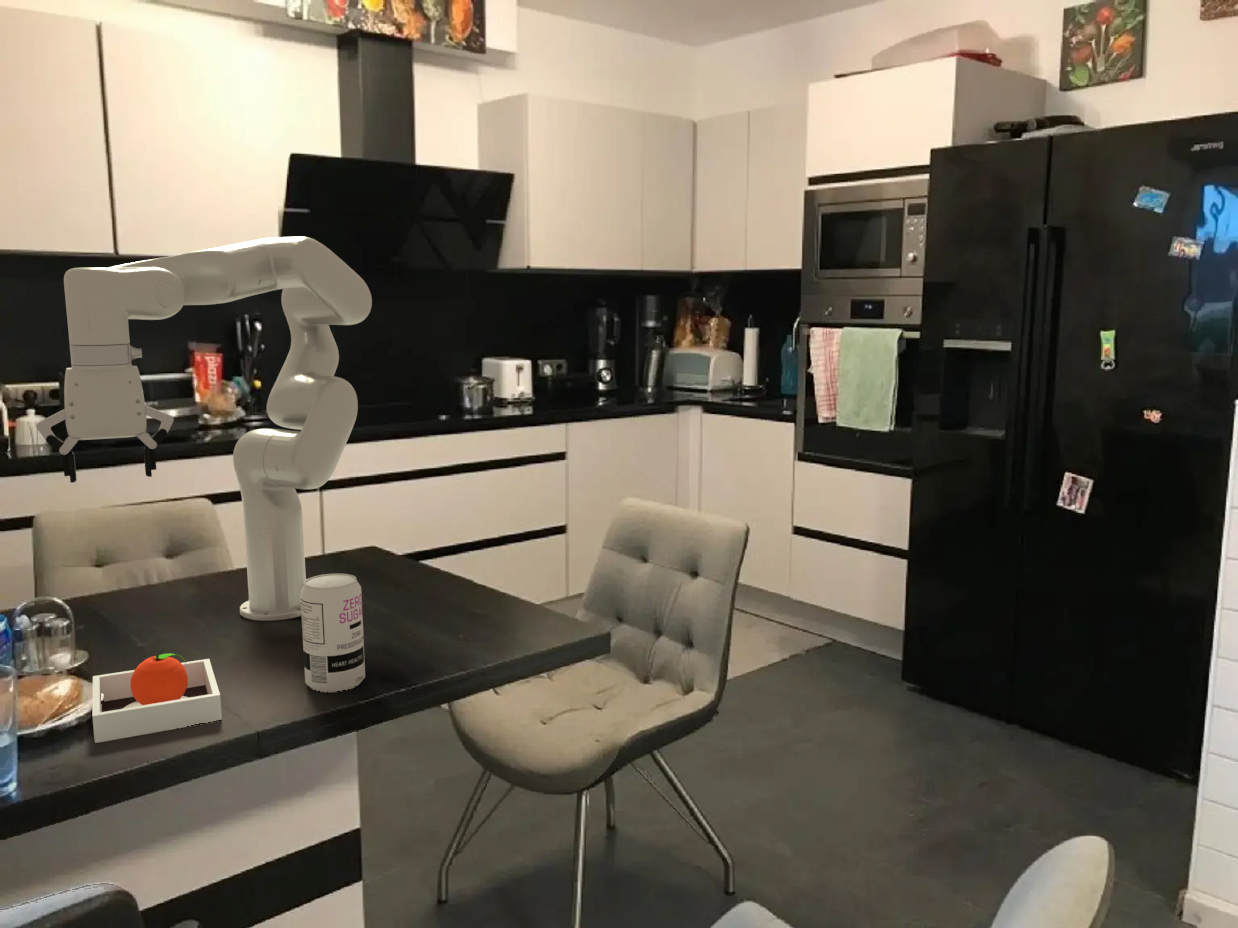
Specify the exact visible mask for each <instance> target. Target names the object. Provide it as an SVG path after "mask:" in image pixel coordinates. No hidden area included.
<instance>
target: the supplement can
mask: <svg viewBox="0 0 1238 928" xmlns="http://www.w3.org/2000/svg"><path fill="white" fill-rule="evenodd" d="M306 579H307V580H306V581H305V583H304V586H303V588H302V590H301V593H300V598H301V616H300V617H301V629H302V630H301V631H302V632H301V633H302V647H303V651H302V652H303V666H304V670H303V671H304V682H305V684H306V685H307V686H308V687H309V688H310V689H312V690H313V691H315V690H316V692H318V691H320V692H319V693H327V692H328V693H338V692H337V691H340V692H343V691H342V690H346V691H349V690H352V689H354V688H356V687H357V686H358V687H359V685H360V684H361V683H362V682H363V680H364V679H365V678H366V668H365V667H366V664H365V663H366V662H365V645H364V643H365V642H364V639H365V638H364V622H363V621H364V619H363V618H364V617H363V599H362V598H363V597H362V586H361V584H360V583H359V582H358V580H357V577H356V576H355V575H353V574H348V573H327V574H319V575H315V576H312V577H311V576H310V577H309V578H306ZM355 686H356V687H355ZM348 689H349V690H348Z"/></svg>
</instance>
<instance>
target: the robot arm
mask: <svg viewBox="0 0 1238 928" xmlns="http://www.w3.org/2000/svg"><path fill="white" fill-rule="evenodd" d="M63 286H64V287H63V289H64V296H65V297H64V299H65V300H64V301H65V308H66V309H65V310H66V317H67V319H66V320H67V329H68V341H69V352H70V364H71V367H66V368H65V374H64V383H63V384H64V388H63V391H64V392H63V394H64V397H63V398H64V409H62V410H60V411H58V412H56V413H54V414H52V415H50V416H48V417H46V418H44V419H42V420H40V421H38V422H37V424H36V425H35V427H36V429H37V431H39V433H40V434H41V436H42V437H43V439H44V440H45V442H46V444H49V445H50V446H51V447H52V448H54V449H55V450H56V451H58V452H59V453H60V455H62V466H63V475H64V477H69V480H70V481H69V482H70V484H72V483H75V482H77V470H76V458H75V452H73V448H74V446H76V444H77V443H78V441H87V440H89V441H91V440H104V439H105V440H107V439H120V438H121V439H124V438H126V439H127V438H134V437H137V439H139V440H140V441H141V442H142V443H143V444H144V447H143V458H144V459H143V460H144V470H145V471H144V472H145V476H146V477H147V478H152V475H153V473H152V471H155V470H157V461H156V448H157V447H158V445H159V444H161V442H162V441H163V440H164V439H166V437H167V436H168V433H169V431H170V429H171V427H172V425H173V424H174V420H175V419H174V417H173V415H171V414H168V413H166V412H163V411H161V410H159V409H157V408H154V407H151V406H149V405H147V404H146V403H145V401H146V400H145V397H144V388H143V384H142V379H141V375H140V374H141V373H140V371H139V368H138V366H137V365H133V364H132V361H134V360H136V359H137V358H140V359H141V358H143V350H142V348H140V347H139V348H136V347H133V346H132V345H131V344H130V343H131V342H130V340H131V339H130V330H129V327H130V326H129V320H143V321H146V320H148V321H155V320H158V321H159V320H165V319H169V318H171V317H173V316H174V315H176V314H177V313H179V312H180V311H181V309H182V308H183V306H201V305H202V306H207V305H208V306H209V305H217V304H226V303H231V302H235V301H237V300H241V299H245V298H248V297H252V296H255V295H256V296H257V295H260V294H266V293H268V292H272V291H277V290H282V292H281V296H280V297H281V306H282V311H283V313H284V316H285V317H286V321H287V324H288V327H289V331H290V338H291V339H290V340H291V341H290V347H289V352H288V353H287V356H286V359H285V361H284V363H283V365H282V367H281V370H280V372H279V373H278V376H277V378H276V379H275V380H276V381H275V382H274V383H273V386H272V388H271V391H270V393H269V396H268V398H267V403H266V414H267V416H268V418H269V419H270V421H272V422H273V423H274V424H275V425H277V426H280V427H282V428H286V429H280V428H258V429H257V428H256V429H252V430H249V431H247V432H246V433H244V434H243V435H242V436H241V437H240V438H239V439H238V440H237V442H236V443H235V446H234V449H233V454H232V455H233V456H232V459H233V460H232V461H233V462H232V463H233V467H234V472H235V475H236V479H237V482H238V483H237V484H238V486H239V491H240V495H241V502H242V514H243V526H244V527H243V529H244V540H245V541H244V543H245V544H244V545H245V559H246V571H247V573H246V574H247V588H248V589H247V590H248V600H247V601H245V602H243V603H241V605H240V606H239V615H240V616H242V618H245V619H248V620H252V621H262V622H264V621H265V622H266V621H267V622H272V621H283V620H290V619H295V618H299V617H302V616H301V598H300V593H301V590H302V588H303V586H304V583H305V581H306V580H307V579H308V578H307V576H306V559H305V557H306V556H305V542H304V541H305V539H304V538H305V537H304V523H303V522H304V521H303V520H304V519H303V518H304V517H303V507H302V503H301V500H300V497H299V494H298V492H297V490H296V489H298V490H299V489H300V490H314V489H319V488H321V487H322V486H324V485H325V484H326V483H327V482H328V481H329V480H330V479H331V477H332V476H333V474H334V472H335V470H336V468H337V465H338V463H339V461H340V458H341V456H342V454H343V452H344V449H345V447H346V445H347V442H348V440H349V438H350V435H351V433H352V430H353V428H354V427H355V426H354V425H355V423H356V420H357V416H358V412H359V411H358V410H359V408H358V407H359V406H358V405H359V403H358V395H357V393H356V390H355V388H354V387H353V386H352V384H351V383H350V382H349V381H348V380H346V379H345V378H342V377H339V376H335V374H336V372H337V371H336V370H337V368H338V365H339V361H340V354H339V349H338V345H337V343H336V341H335V338H334V335H333V332H332V331H331V328H330V326H333V325H334V326H335V325H336V326H352V325H357V324H360V323H361V322H363V321H364V320H366V318H368V316H369V314H370V313H371V309H372V307H373V306H372V305H373V304H372V303H373V302H372V301H373V299H372V294H371V291H370V289H369V287H368V284H367V283H366V282H365V280H364V279H363V278H362V277H361V276H360V275H359V274H358V273H357V272H356V271H355V270H354V269H352V268H351V267H350V266H349V265H348V264H347V263H346V262H345V261H344V260H343V259H342V258H340V257H339V256H338V255H337V254H335V252H333V250H331V249H330V248H328V247H327V246H326V245H325V244H323V243H322V242H319V241H318V240H316V239H314V238H311V237H308V236H282V237H281V236H278V237H277V236H276V237H274V236H273V237H264V238H259V239H253V240H249V241H243V242H238V243H234V244H228V245H223V246H218V247H213V248H207V249H201V250H196V251H195V250H194V251H188V252H184V253H181V254H176V255H170V256H163V257H158V258H152V259H144V260H139V261H135V262H134V261H133V262H130V263H129V262H128V263H123V264H118V265H113V266H108V267H73V268H70V269H68V270H66V271H65V273H64V276H63ZM147 417H149V418H152V419H155V420H158V421H160V426H159V428H158V429H157V430H156V431H155V432H154V434H153V435H152V436H151V435H150V433H148V432H147V423H148V422H147ZM63 421H65V427H66V433H67V435H68V436H67V437H66V438H65V440H62V439H60V438H59V437H58V436H57V435H55V433H54V432H53V430H52V429H51V428H52V427H53V426H56V425H57V424H59V423H62V422H63ZM289 429H291V430H289ZM292 429H293V430H292Z"/></svg>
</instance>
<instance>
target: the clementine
mask: <svg viewBox="0 0 1238 928" xmlns="http://www.w3.org/2000/svg"><path fill="white" fill-rule="evenodd" d="M172 656H178V657H180V658H181V659H182V660H183V662H185V663H186V662H187V661H186V659H185V658H184V657H183V656H182V655H180V654H176V653H170V652H168V653H162V654H158V655H154V656H150V657H148V658H146V659H144V660H143V661H142V662H141V663H138V665H137V667H136V668H135V669H134V670H135V671H134V672H133V674H132V677H131V684H130V686H131V691H132V694H133V696H134V697H133V698H134V699H135V700H136V701H138V702H139V703H140V704H141V705H148V704H154V703H160V702H166V701H172V700H178V699H180V698H181V697H182V696H184V694H185V692H186V690H187V689H188V688H187V685H188V676H187V672H186V670H185V668H184V666H183V665H182V664H181V663H182V662H180V661H179V660H178V659H176V658H175V657H172Z"/></svg>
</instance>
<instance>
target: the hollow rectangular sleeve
mask: <svg viewBox="0 0 1238 928" xmlns="http://www.w3.org/2000/svg"><path fill="white" fill-rule="evenodd" d="M185 662H186V663H185ZM185 662H184V661H183V662H180V663H181V664H182V665H183V666H184V668H185V670H186V672H187V676H188V685H187V688H186V689H190V688H196V687H201V686H202V687H203V686H204V687H205V688H206V694H204V695H198V696H191V697H188V696H184V695H183V696H182V697H181V698H180V699H178V700H172V701H166V702H160V703H154V704H148V705H141V704H140V703H139V702H138V701H137V700H136V701H133V702H132V703H129V704H127V705H126V706H124V707H123V708H120V709H112V710H108V711H103V703H102V704H101V693H103V694H104V702H108V701H109V702H110V701H115V700H116V701H117V700H121V699H127V698H134V696H133V694H132V691H131V686H130V684H131V677H132V674H133V672H134V671H135V669H132V670H124V671H120V672H112V673H105V674H100V675H99V674H98V675H93V676H92V713H91V714H92V726H93V737H94V738H93V739H94V744H97V743H98V744H99V743H104V742H109V741H114V740H116V741H117V740H120V739H126V738H131V737H136V736H143V735H149V734H154V733H159V732H166V731H172V730H176V729H177V728H178V729H182V728H188V727H187V726H189V727H192V726H191V725H194V724H199V723H206V724H209V723H208V722H211V723H213V722H212V721H216V720H221V719H222V720H223V718H222V717H223V716H222V701H221V692H220V690H219V686H218V684H217V680H216V677H215V673H214V671H213V667H212V663H211V659H210V658H205V659H197V660H193V661H192V660H191V661H185ZM194 726H195V725H194Z"/></svg>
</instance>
